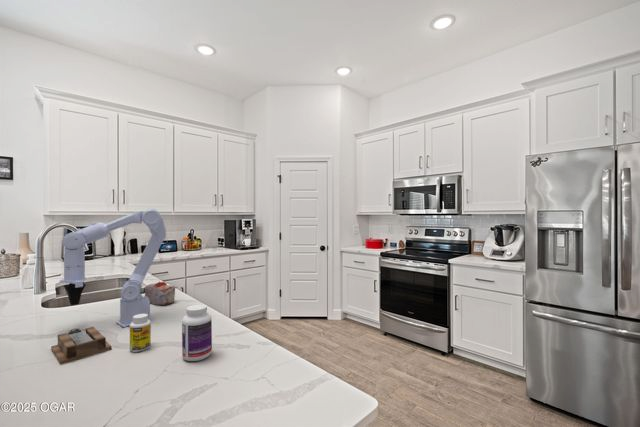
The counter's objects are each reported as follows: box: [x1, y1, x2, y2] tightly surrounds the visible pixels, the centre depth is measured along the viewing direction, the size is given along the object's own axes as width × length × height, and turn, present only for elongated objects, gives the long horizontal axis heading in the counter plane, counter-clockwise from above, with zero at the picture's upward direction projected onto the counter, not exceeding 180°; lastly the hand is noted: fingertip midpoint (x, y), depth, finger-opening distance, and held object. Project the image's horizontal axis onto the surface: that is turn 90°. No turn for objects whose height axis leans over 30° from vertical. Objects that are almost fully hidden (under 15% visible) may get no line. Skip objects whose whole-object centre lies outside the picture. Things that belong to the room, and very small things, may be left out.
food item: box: [144, 281, 176, 306], centre depth 139 cm, size 14×8×10 cm, turn 70°
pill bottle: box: [181, 304, 213, 362], centre depth 88 cm, size 8×8×14 cm
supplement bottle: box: [129, 314, 152, 353], centre depth 93 cm, size 6×6×10 cm
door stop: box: [67, 328, 93, 345], centre depth 93 cm, size 15×4×4 cm, turn 50°
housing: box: [50, 326, 112, 365], centre depth 92 cm, size 14×12×4 cm
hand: (74, 304), depth 106 cm, fingers closed
